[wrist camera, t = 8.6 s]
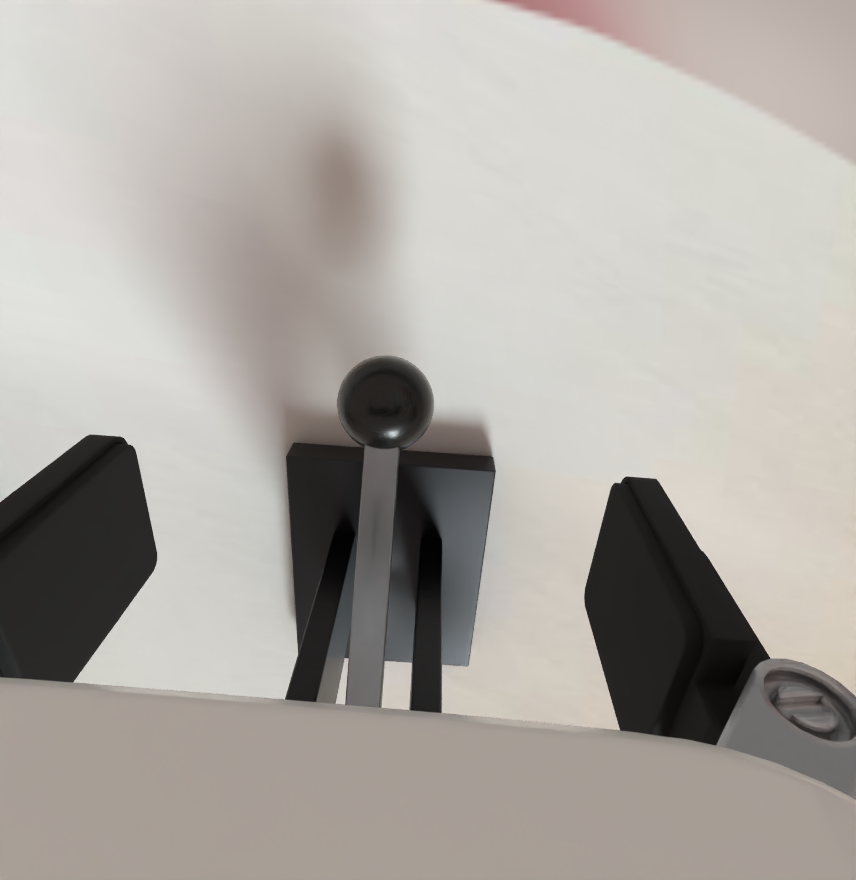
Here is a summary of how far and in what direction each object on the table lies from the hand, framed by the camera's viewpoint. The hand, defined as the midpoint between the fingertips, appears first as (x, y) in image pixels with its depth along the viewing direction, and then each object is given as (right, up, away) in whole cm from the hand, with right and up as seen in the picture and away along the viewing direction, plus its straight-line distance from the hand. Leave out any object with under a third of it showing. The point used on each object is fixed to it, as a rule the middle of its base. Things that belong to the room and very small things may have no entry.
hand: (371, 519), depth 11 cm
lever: (-1, -3, +9) cm, 9 cm away
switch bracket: (-1, -4, +16) cm, 17 cm away
